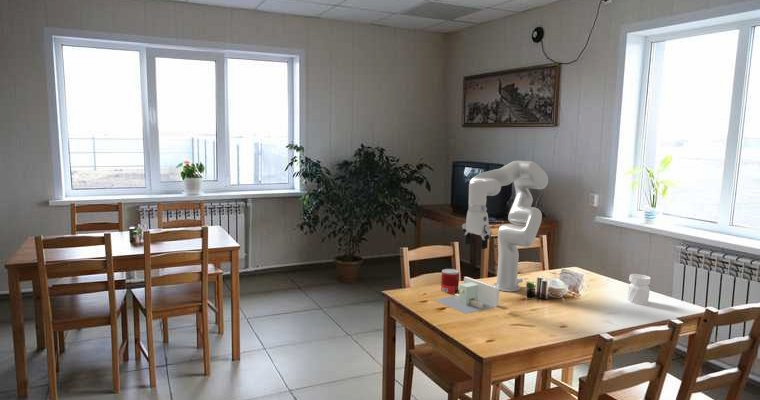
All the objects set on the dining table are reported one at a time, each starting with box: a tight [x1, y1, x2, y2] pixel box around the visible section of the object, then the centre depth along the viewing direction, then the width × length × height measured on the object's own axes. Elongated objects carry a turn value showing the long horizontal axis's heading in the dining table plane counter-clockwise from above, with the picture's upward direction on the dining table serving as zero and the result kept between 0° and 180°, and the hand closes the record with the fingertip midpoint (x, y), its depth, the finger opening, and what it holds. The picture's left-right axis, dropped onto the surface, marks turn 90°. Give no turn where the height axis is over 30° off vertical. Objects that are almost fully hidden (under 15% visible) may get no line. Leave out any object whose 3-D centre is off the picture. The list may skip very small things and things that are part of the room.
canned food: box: [440, 268, 460, 294], centre depth 243 cm, size 8×8×11 cm
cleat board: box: [434, 276, 500, 315], centre depth 226 cm, size 19×20×10 cm
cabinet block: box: [458, 282, 479, 305], centre depth 227 cm, size 8×4×8 cm, turn 124°
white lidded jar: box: [627, 273, 652, 306], centre depth 240 cm, size 9×9×12 cm
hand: (476, 246), depth 232 cm, fingers open, 9 cm apart
